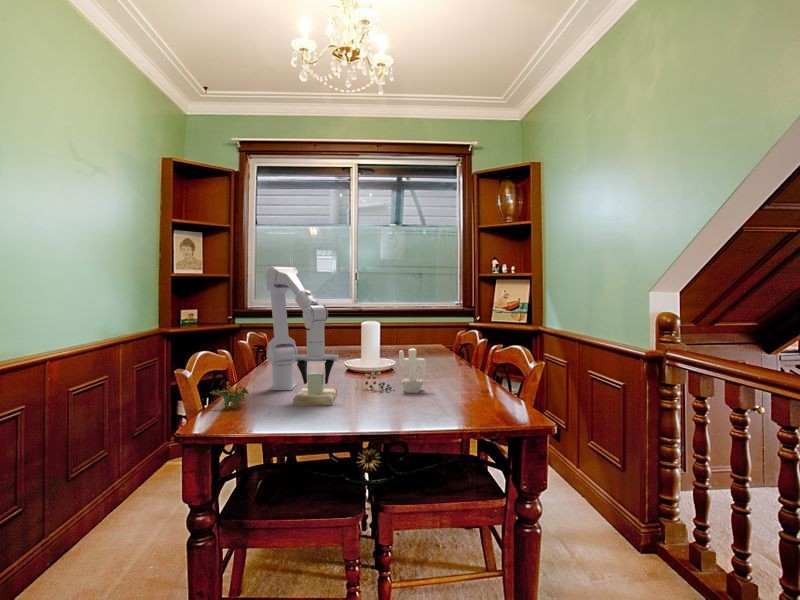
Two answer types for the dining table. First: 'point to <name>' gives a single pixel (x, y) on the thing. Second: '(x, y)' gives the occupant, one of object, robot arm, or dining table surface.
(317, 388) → the sage block
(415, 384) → the figurine
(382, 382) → the molecule model
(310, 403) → the birch base
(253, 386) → the dining table surface
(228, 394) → the figurine
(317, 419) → the dining table surface
